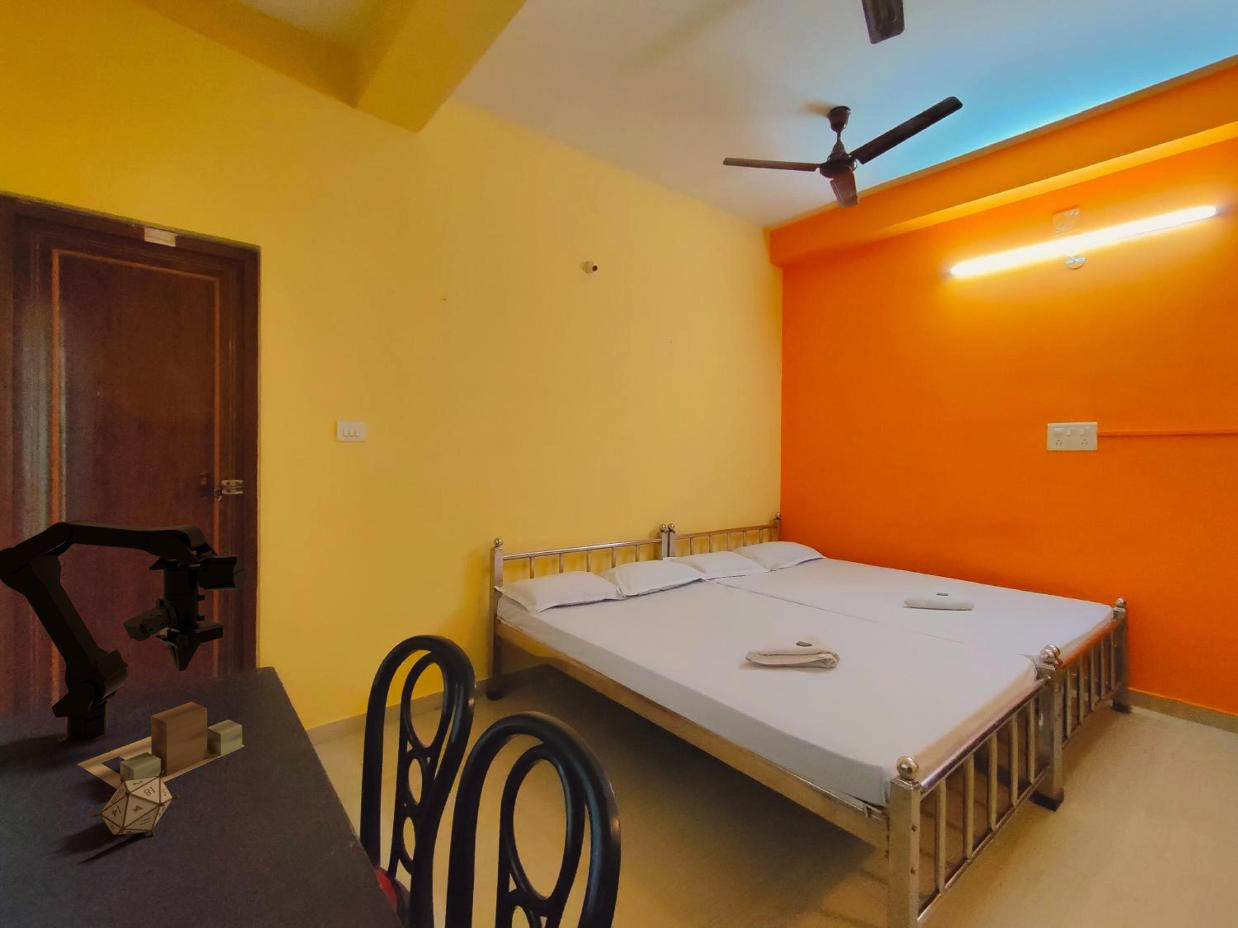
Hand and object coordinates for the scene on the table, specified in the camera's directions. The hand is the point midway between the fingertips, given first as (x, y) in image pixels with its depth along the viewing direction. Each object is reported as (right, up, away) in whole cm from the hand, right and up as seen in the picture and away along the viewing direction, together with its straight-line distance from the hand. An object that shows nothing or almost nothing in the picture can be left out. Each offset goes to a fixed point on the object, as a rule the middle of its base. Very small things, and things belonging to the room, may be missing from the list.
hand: (181, 670), depth 108 cm
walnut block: (+10, -11, -13) cm, 19 cm away
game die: (+16, -13, -28) cm, 35 cm away
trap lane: (+5, -12, -10) cm, 17 cm away
